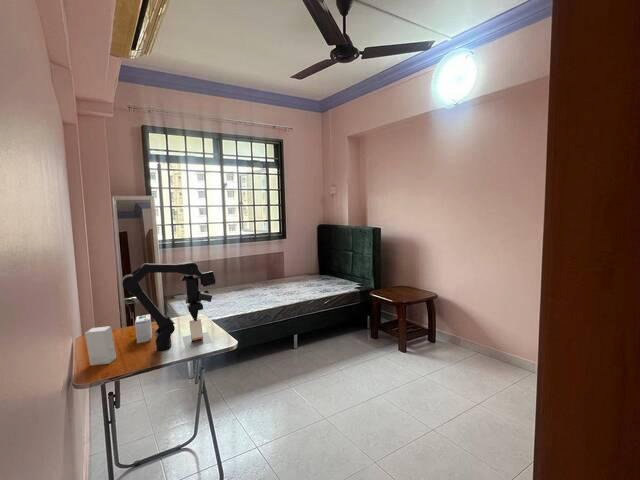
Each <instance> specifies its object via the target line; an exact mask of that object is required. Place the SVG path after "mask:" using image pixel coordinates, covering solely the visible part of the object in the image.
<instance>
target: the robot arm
mask: <svg viewBox="0 0 640 480" xmlns="http://www.w3.org/2000/svg"><path fill="white" fill-rule="evenodd" d="M150 273H151V274H152V273H154V274H155V273H156V274H157V273H163V274H164V273H165V274H166V273H167V274H168V273H172V274H173V273H175V274H183V275H182V276H181V277H180V281H182V282H183V281H184V283H185V284H184V285H185V293H186V294H185V295H186V297H185V300H184V301H185V304H188V305H186V308H187V311H188V312H189V314H190V316H191V317H192V319H193V320H194V321H197V320H198V316H199V311H202V310H204V305H203V303H202V301H204V302H208V303H211V302H212V299H213V294H212V293H210V292H209V290H208V289H205V290H204V291H201V290H200V286H201V287H210V286H215V285H216V277H215V274H214V271H213V270H210V271H205V272H202V271H200V270H199V266H198V265H197V263H195V262H193V261H184V262H179V263H147V262H145V263H143V264H142V265H140V266H139V267H138V268H136V269H135V270H134V271H132V272H131V273H130V274H125V275H124V276H123V278H122V279H121V284H122V287H123V288H124V289H125V290H126V291H127V292H128V293H130V294H131V295H132V296H134V297H135V298H136V299H137V300H138V301H139V303H140V304H141V305H142V306H143V308H144V309H145V310H146V311H147V313H148V314H150V316H151V317H152V318H153V320H154V321H155V322H156V323H155V324H156V325H157V329H156V330H155V332H154V335H155V337H156V338H155V347H156V352H165V351H168V350H170V349H171V348H172V338H171V336H172V334H174V332H175V329H176V327H175V324H176V323H175V322H174V320H173V319H171V318H170V316H169V314H168V313H167V314H165V315H164V314H163V313H162V312H161V311H160V310H159V308H157V306H156V304H155V303H154V302H153V301H152V300H151V298H150V297H149V296H148V295H147V294H146V292H145V291H144V290H143V288H142V286H141V284H140V283H139V282H141V280H143V279H144V277H146V276H147V275H148V274H150Z"/></svg>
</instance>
